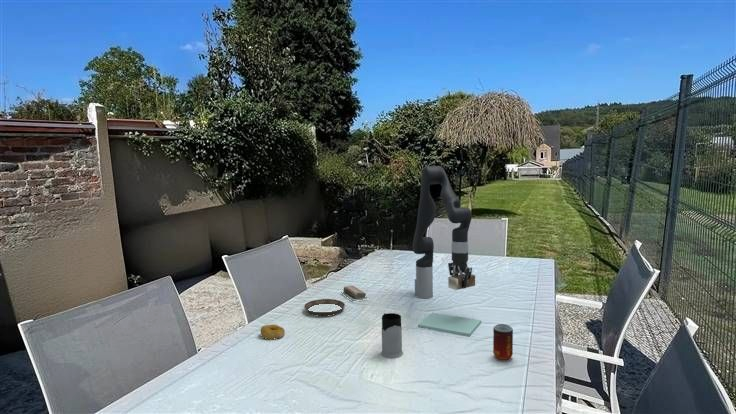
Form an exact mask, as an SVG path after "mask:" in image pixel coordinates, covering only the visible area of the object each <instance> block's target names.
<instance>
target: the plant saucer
mask: <svg viewBox="0 0 736 414" xmlns="http://www.w3.org/2000/svg"><path fill="white" fill-rule="evenodd" d="M319 304H335V305H338V306H340V307H341V308H342V309H340V310H337V311H332V312H313V311H309V310H308V309H309V308H310V307H312V306H314V305H319ZM345 306H346V304H345V303H344V302H343V301H342V300H337V299H334V298H321V299H320V298H319V299H314V300H311V301H310V300H309V301H308V302H306V303H305V304H304V307H303V308H304V309H305V310H306V312H307V313H309V314H310V315H312V314H313V315H312V316H314V315H318V316H317V317H329V316H328V315H332V316H334V315H333V314H335V315H337V313H338V314H340V313H341V312H342V311H343V310H344V308H345Z"/></svg>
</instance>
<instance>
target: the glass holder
mask: <svg viewBox="0 0 736 414" xmlns="http://www.w3.org/2000/svg"><path fill="white" fill-rule="evenodd" d="M402 331H403V327H402V316H401V314H399V313H396V312H395V313H394V312H392V313H391V312H389V313H386V312H384V313H383V314H382V316H381V352H380V355H381V356H382V357H384V358H386V359H398V358H400V357H402V356H403V355H404V352H403V334H402V333H403V332H402Z"/></svg>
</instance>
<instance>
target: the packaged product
mask: <svg viewBox="0 0 736 414" xmlns="http://www.w3.org/2000/svg"><path fill="white" fill-rule="evenodd" d="M342 292H343V293H342ZM341 293H342V294H344V295H345V296H346V297H348V298H349V299H351V300H352V301H356V300H363V299H367V298H369V297H368V296H366V295H367V294H366V293H365V292H364V291H362V290H361V289H359V288H358V287H357V286H355V285H347V286H346V285H345V286H344V287H343V291H340V294H341ZM342 294H341V295H342ZM365 296H366V297H365ZM346 297H345V298H346ZM349 299H348V300H349ZM352 301H351V302H352Z"/></svg>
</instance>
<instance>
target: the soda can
mask: <svg viewBox="0 0 736 414" xmlns="http://www.w3.org/2000/svg"><path fill="white" fill-rule="evenodd" d="M492 329H493V330H492V331H493V337H492V341H493V342H492V344H493V347H492V348H493V349H492V350H493V351H492V352H493V355H494V357H495V359H496V360H498V361H501V362H508V361H510V360H512V359H511V358H512V356H513V355H514V354H513V353H514V352H513V351H514V350H513V349H514V348H513V345H514V344H513V342H514V339H513V338H514V329H513V327H511V326H510V325H508V324H504V323H500V324H499V323H498V324H496V325H494V326H493V328H492Z"/></svg>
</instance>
